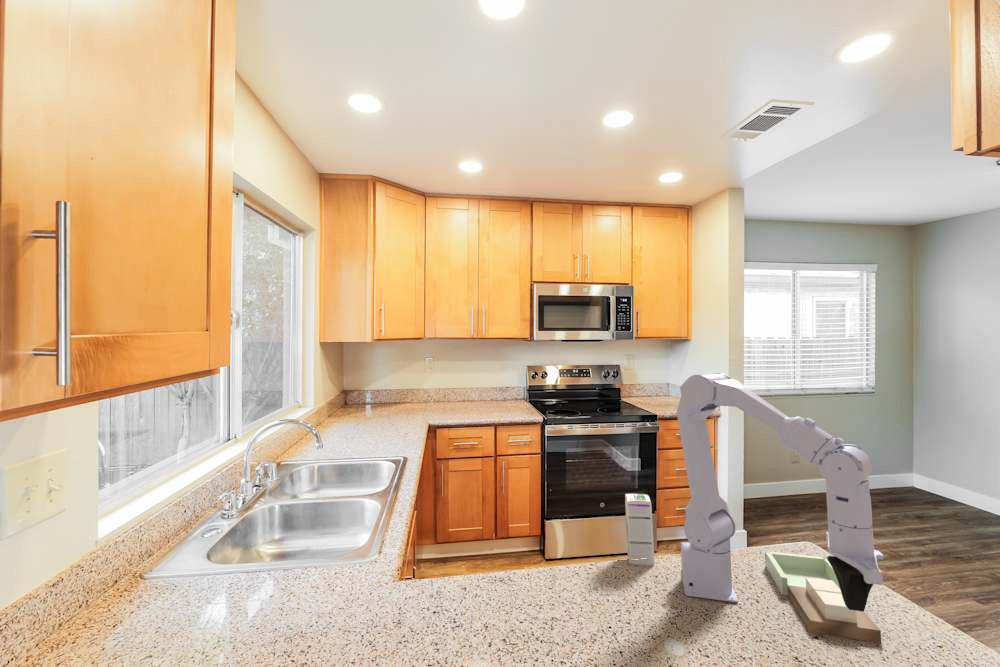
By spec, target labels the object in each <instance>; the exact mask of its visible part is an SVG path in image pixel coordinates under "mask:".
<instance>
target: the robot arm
mask: <svg viewBox="0 0 1000 667" xmlns="http://www.w3.org/2000/svg"><path fill="white" fill-rule="evenodd" d="M679 390H680V395H681V396H680V398H679V402H678V405H677V409H676V416H677V418H676V419H677V422H678V428H679V434H680V440H681V441H680V442H681V445H682V452H683V458H684V464H685V468H686V469H685V470H686V474H687V475H686V476H687V482H688V488H689V493H690V499H689V502H688V503H687V505H686V507H685V510H684V511H685V520H684V521H685V522H684V525H683V531H684V534H685V537H686V539H687V541H686V542H685V541H684V542H680V558H681V559H680V562H681V563H680V564H681V569H680V579H681V581H682V585H683V586H682V587H683V591H684V595H685V596H687V597H692V598H694V597H695V598H700V599H707V600H714V601H715V600H716V601H720V602H721V601H722V602H727V603H728V602H731V603H738V601H739V599H738V597H737V594H736V592H735V590H734V586H733V581H732V580H733V576H732V559H731V558H732V556H731V555H732V553H731V538H733V536H734V535H735V533H736V530H737V526H736V525H737V524H736V522H735V520H734V517H733V516H732V514H731V512H730V510H729V506H728V503H727V502H726V501H725V500H724V499H723V498H722V497H721V496H720V491H719V487H718V486H719V485H718V480H717V475H716V468H715V465H714V459H713V454H712V448H711V447H712V446H711V442H710V437H709V432H708V425H707V422H706V420H707V418H708V417H709V416H711V414H712V413H713V412H714V411H715V410H716V409H717V408H719V407H734V408H737V409H739V410H740V411H742V412H744V413H746V414H747V415H749V416H750V417H752V418H754V419H755V420H757V421H759V422H760V423H762V424H764V425H765V426H767V427H769V428H770V429H772V430H774V431H775V432H776V434H777V437H778V441H779V442H780V443H781V444H783V445H784V446H786V447H787V448H788V449H790V450H791V451H793V452H795V454H797V455H799V456H800V457H802V459H804V460H806V461H808V462H809V463H810V464H812V465H814V467H815V466H816V467H818V471H819V473H820V475H821V477H822V478H823V479H825V483H826V484H825V486H826V491H825V494H826V495H825V496H826V510H827V528H828V529H827V531H826V532H825V538H826V539H825V540H826V544H827V550H828V553H829V554H830V555H828V556H827V557H826V558H827V559H828V561H829V563H830V565H831V566H832V568H833V570H834V572H835V575H836V577H837V580H838V583H839V586H840V590H841V593H842V597H843V600H844V603H845V605H846V606H847V608H848V609H850V610H856V611H864V612H865V611H866V605H867V603H868V599H869V595H870V591H871V590H872V588H873V586H874V585H878V586H879V585H880V586H884V582H883V581H884V579H883V578H884V577H883V571H882V570H881V569H880V568H879V564H878V563H879V562H878V560H884V558H885V557H884V554H883V553H882V552H880V551H879V550H877V549H875V547H874V546H875V544H874V528H873V512H872V498H871V495H870V494H871V493H870V491H871V490H870V481H869V479H868V478H870V476H871V475H872V474H873V472H874V462H873V458H871V456H870V455H869V454H868V453H867V452H866V451H865V450H863V449H862V448H861V447H860V446H858V445H856V444H853V443H852V444H851V443H850V444H849V443H845V442H846V441H845V440H844V439H843V438H841V437H837V438H836V437H834V436H833V435H831V434H829V433H828V432H827V431H825V430H823V429H821V428H820V427H818V426H816V423H817V422H816V421H815V420H814V419H812V418H811V417H807V418H803V417H802V416H793V417H789V416H788V415H786V414H785V413H783V412H782V411H780V410H779V409H777V408H776V407H775V406H773V405H772V404H771V403H769V402H768V401H766V400H764V399H763V398H762V397H761V396H759V395H758V394H756V393H755V392H753V391H752V390H750V389H748V388H747V387H746V386H745V385H743V384H742V383H741V382H740V381H739V380H736V379H735V378H731V377H730V376H729V375H727V374H725V373H722V372H715V373H712V374H711V373H710V374H693V375H690V376H689V377H688V378H687V379H686V380H685V381H684V382H683V383H682V384H681V385H680V386H679Z"/></svg>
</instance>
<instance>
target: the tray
mask: <svg viewBox="0 0 1000 667" xmlns="http://www.w3.org/2000/svg"><path fill="white" fill-rule="evenodd" d="M764 558H765V568H766V567H767V568H766V569H768V570H767V571H768V573H769V572H770V573H769V575H770V574H771V575H770V577H771V578H772V579H773V581H774V583H775V585H776V586H777V588H778V590H779V592H780V593H781V595H782V596H783V595H784V596H788V585H791V586H799V587H806V580H805V577H808V578H816V579H824V580H833V581H834V583H835V584H836V585H837V586H838V587H839V589H840V586H839V583H838V580H837V577H836V575H835V572H834V570H833V568H832V566H831V565H830V563H829V561H828V559H827V557H823V556H813V555H805V554H795V553H785V552H779V551H777V552H776V551H769V550H767V551H764Z"/></svg>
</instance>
